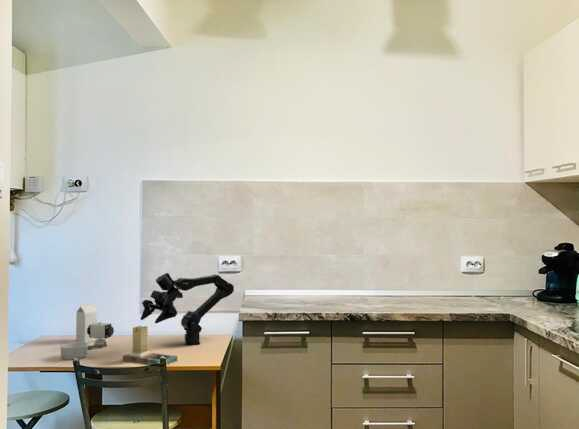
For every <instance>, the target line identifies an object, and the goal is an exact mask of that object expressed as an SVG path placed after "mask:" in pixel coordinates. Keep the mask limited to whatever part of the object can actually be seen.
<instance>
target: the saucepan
mask: <svg viewBox="0 0 579 429" xmlns="http://www.w3.org/2000/svg"><path fill="white" fill-rule="evenodd" d="M59 347H60V358H61V359H64V360H69V361H72V359H74V358H79V359H83V358H84V357H86V356H87V355H88V350H89V351H91V350H92V349H95V348H97V347H102V348H105V347H108V344H107V343H106V344H105V345H94V344H93V345H89V342H88V343H86V342H77V341H73V342H67V343H63V344H60V345H59ZM79 359H78V360H79ZM74 360H75V359H74Z"/></svg>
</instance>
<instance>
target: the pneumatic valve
mask: <svg viewBox="0 0 579 429" xmlns="http://www.w3.org/2000/svg"><path fill="white" fill-rule="evenodd" d="M114 332H115V328H114V326H112V323H106V322H105V323H104V322H103V323H102V321H99V323H98V322H97V323H94V324H91V325H89V327H88V328H87V334H88V335H89V338H96V339H97V340H96V341H93V345H105V344H107V341H106V339H108V338H112V336H113V335H114ZM99 348H100V349H102V348H103V347H99Z"/></svg>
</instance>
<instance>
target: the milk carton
mask: <svg viewBox="0 0 579 429" xmlns="http://www.w3.org/2000/svg"><path fill="white" fill-rule="evenodd" d="M75 318H76V321H75V322H76V324H75V325H76V326H75V329H76V331H75V333H76V335H75V342H86V343H88V344H89V343H91V342H95V341H96V340H98V339H96V338H89V335H88V334H87V328H88V327H89V325H91V324H94V323H98V310H97V309H96V307H95V305H94V302H89V303H82V304H80V307H79V308H78V309H77V310H76V316H75Z"/></svg>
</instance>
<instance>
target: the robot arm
mask: <svg viewBox="0 0 579 429" xmlns="http://www.w3.org/2000/svg"><path fill="white" fill-rule="evenodd" d="M155 283H156V284H157V285H158V286H159V288H160V289H161V290H162V291H159V290H153V291H152V292H151V294H150V298H152V299H154V300H153V301H154V302H153V301H152V300H150V299H144V300H143V301H142V302H141V303H142V307H143V311H142V313H141V316H140V320H141V321H144V320H145V319H147V317H150V316H151V315H152V314H153V313H154V312H155V310H157V311H161V313H160V314H159V315H158V316H157V318H156V319H155V321H154V323H155V324H159V323H161V322H163V321H167V320H168V319H172V318H176V317H177V315H178V310H177V308H176V306H175V305H174V302H175V301H176V299H183V298H184V295H183V292H181V291H184V292H185V291H189V290H191V289H193V288H196V287H199V286H200V287H201V286H206V285H210V284H211V285H212V284H214V286H215V287H216V289H215V291H214V293H213V294H212V295H211V296H210V297H208V298H207V299H206V300H205V301H204V302H202V304H201V305H200V306H199V307H198V308H197V309H196V310H194V311H190V310H189V311H187V312H186V314H185V315H182V318H181V320H180V325H181V327H182V328H183V329H184V331H185V334H184V343H185V345H186V346H193V345H195V346H196V345H200V344H201V342H200V333H201V332H202V329H203V327H202V326H201V325H200V323H201V320H202V318H203V317H204V316H205V315H206V314H207V313H208V312H210V311H211V310H212V309H213V307H215V306H216V305H217V304H218V303H219V302H220V301H221V300H223V299H225V298H228V297H229V296H231V295H232V294H233V293H234V291H235V288H234V285H233V284H232V283H231V282H228V281H227V280H225V279H224V278H222V277H221V276H220V275H218V274H211V275H206V276H200V277H193V278H187V277H180V278H177V279H176V280H174V279H173V278H172V277H171V275H170V274H169V272H165V273H164V274H161V275H160V276H157V278H156V279H155Z"/></svg>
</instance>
